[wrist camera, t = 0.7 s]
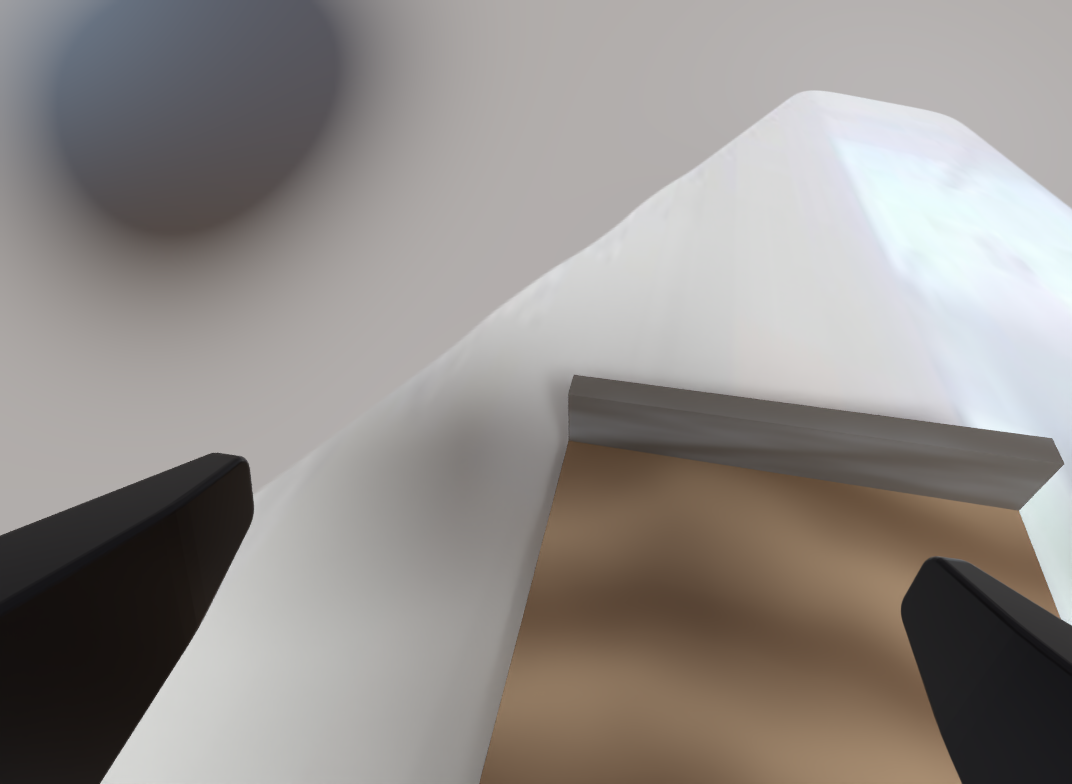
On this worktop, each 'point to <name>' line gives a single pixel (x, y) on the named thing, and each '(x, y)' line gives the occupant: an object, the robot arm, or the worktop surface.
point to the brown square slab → (749, 590)
